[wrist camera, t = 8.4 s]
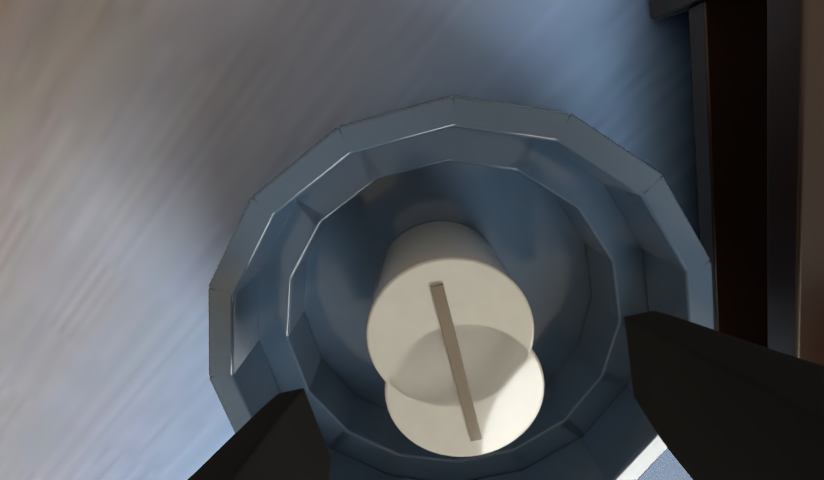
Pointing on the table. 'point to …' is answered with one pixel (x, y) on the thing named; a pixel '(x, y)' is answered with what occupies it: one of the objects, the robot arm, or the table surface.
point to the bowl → (514, 244)
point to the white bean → (453, 342)
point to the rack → (761, 165)
